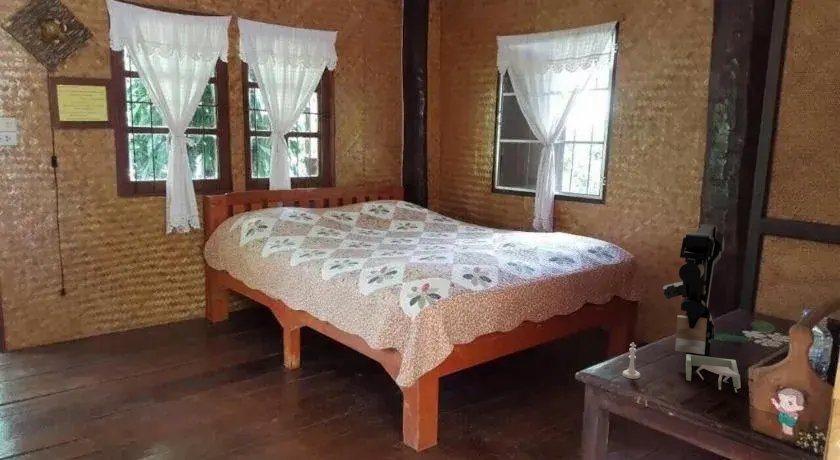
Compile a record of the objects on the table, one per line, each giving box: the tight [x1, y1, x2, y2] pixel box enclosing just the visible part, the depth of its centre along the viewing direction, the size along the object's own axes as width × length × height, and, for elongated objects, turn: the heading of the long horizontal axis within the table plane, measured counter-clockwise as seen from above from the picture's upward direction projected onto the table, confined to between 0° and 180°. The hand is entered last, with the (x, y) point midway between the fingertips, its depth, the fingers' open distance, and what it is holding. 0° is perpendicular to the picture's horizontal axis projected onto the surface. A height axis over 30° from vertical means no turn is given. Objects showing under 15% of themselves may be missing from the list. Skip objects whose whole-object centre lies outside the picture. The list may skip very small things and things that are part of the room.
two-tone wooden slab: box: [674, 314, 707, 354], centre depth 185 cm, size 8×2×10 cm, turn 65°
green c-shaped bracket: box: [685, 354, 740, 388], centre depth 181 cm, size 13×14×3 cm
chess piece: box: [622, 342, 641, 380], centre depth 181 cm, size 5×5×10 cm
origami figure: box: [695, 365, 741, 393], centre depth 175 cm, size 12×8×5 cm
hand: (691, 327), depth 184 cm, fingers closed on two-tone wooden slab, 2 cm apart
